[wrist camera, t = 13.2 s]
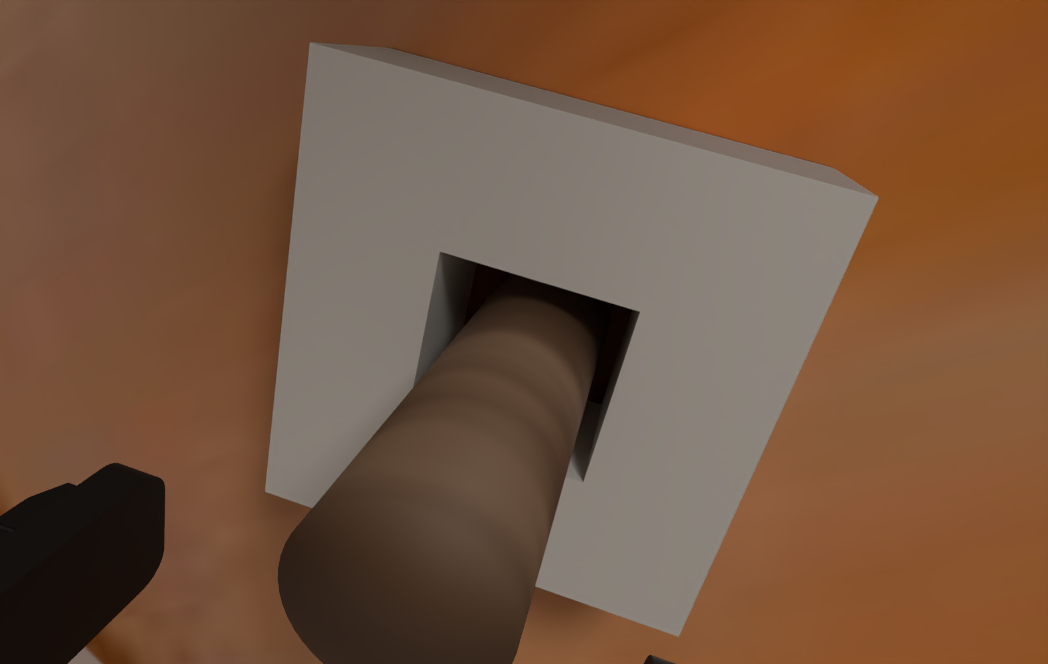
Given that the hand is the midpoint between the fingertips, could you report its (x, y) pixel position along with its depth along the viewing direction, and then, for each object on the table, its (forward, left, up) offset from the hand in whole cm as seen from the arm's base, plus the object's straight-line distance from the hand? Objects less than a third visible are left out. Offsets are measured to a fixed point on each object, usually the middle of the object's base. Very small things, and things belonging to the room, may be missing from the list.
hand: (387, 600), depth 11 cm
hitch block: (0, 0, -14) cm, 14 cm away
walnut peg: (0, 0, -14) cm, 14 cm away
